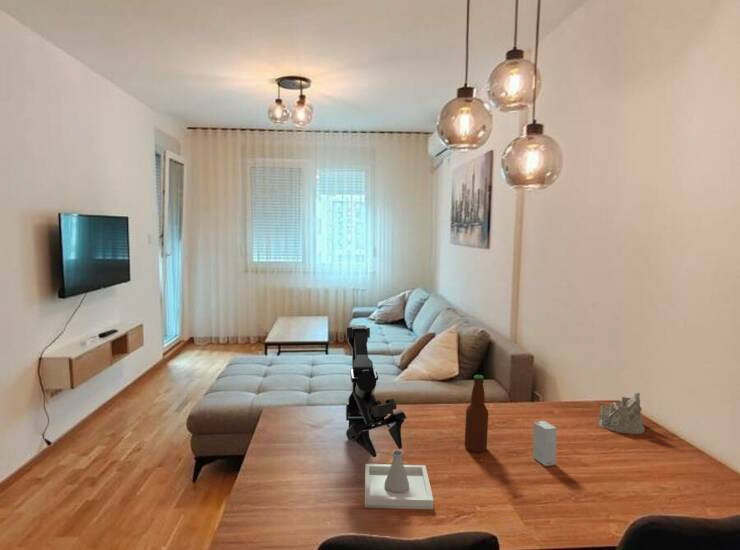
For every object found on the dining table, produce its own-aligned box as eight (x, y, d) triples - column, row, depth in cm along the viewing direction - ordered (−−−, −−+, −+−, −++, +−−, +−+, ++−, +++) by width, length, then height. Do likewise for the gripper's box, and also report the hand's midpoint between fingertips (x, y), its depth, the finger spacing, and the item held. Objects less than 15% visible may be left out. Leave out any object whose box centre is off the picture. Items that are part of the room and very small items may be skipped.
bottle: (490, 448, 158) (494, 376, 155) (479, 455, 152) (483, 381, 150) (471, 440, 163) (474, 371, 160) (460, 447, 157) (463, 375, 155)
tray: (364, 507, 122) (364, 498, 122) (365, 471, 140) (365, 463, 140) (433, 509, 123) (433, 500, 122) (425, 473, 140) (425, 465, 140)
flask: (412, 482, 134) (413, 449, 132) (405, 496, 127) (406, 461, 126) (388, 477, 136) (389, 444, 135) (380, 490, 129) (381, 455, 128)
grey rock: (644, 421, 182) (645, 384, 181) (644, 439, 168) (644, 399, 167) (600, 415, 190) (600, 379, 189) (596, 431, 176) (596, 393, 175)
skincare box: (556, 464, 147) (558, 427, 146) (544, 466, 146) (547, 429, 145) (542, 455, 153) (544, 420, 152) (531, 457, 152) (533, 421, 150)
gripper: (352, 397, 131) (374, 450, 124) (403, 385, 142) (426, 433, 134) (337, 414, 139) (357, 465, 131) (387, 401, 149) (408, 448, 142)
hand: (388, 452), depth 134 cm, fingers open, 9 cm apart
